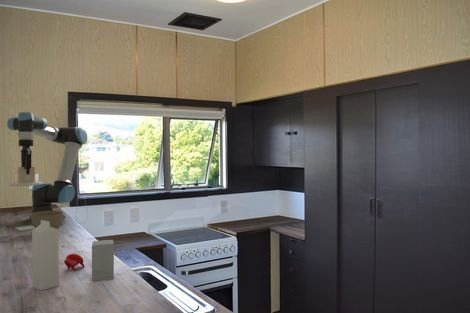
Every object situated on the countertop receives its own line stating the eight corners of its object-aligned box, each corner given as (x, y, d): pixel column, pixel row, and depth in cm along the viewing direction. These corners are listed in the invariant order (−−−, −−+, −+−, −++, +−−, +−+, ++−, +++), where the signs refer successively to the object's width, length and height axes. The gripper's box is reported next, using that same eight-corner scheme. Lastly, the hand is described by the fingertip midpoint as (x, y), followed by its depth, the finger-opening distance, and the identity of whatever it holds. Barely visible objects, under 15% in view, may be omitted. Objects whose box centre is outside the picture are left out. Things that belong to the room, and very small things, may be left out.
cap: (69, 265, 144) (83, 253, 148) (60, 257, 147) (73, 246, 151) (76, 277, 149) (89, 266, 153) (67, 270, 152) (80, 259, 156)
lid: (6, 184, 226) (6, 167, 226) (38, 182, 238) (37, 166, 237) (13, 186, 214) (13, 168, 213) (46, 184, 225) (46, 167, 225)
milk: (50, 282, 135) (49, 218, 135) (59, 285, 132) (58, 220, 131) (32, 287, 130) (31, 221, 130) (41, 290, 127) (40, 222, 126)
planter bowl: (30, 237, 205) (30, 216, 204) (30, 231, 219) (30, 211, 219) (64, 233, 212) (63, 213, 212) (62, 228, 226) (61, 209, 226)
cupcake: (68, 224, 240) (67, 204, 240) (60, 226, 232) (60, 206, 231) (54, 223, 241) (54, 204, 241) (46, 226, 233) (46, 206, 232)
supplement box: (113, 279, 137) (113, 243, 137) (91, 281, 135) (91, 245, 135) (114, 273, 145) (113, 239, 144) (92, 275, 142) (92, 240, 142)
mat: (15, 228, 227) (15, 227, 227) (33, 226, 234) (33, 225, 234) (19, 231, 219) (19, 230, 219) (39, 228, 225) (39, 227, 225)
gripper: (15, 139, 229) (15, 179, 229) (22, 138, 216) (23, 181, 217) (29, 139, 234) (29, 178, 234) (37, 139, 221) (37, 180, 222)
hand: (26, 179), depth 226 cm, fingers closed on lid, 4 cm apart
